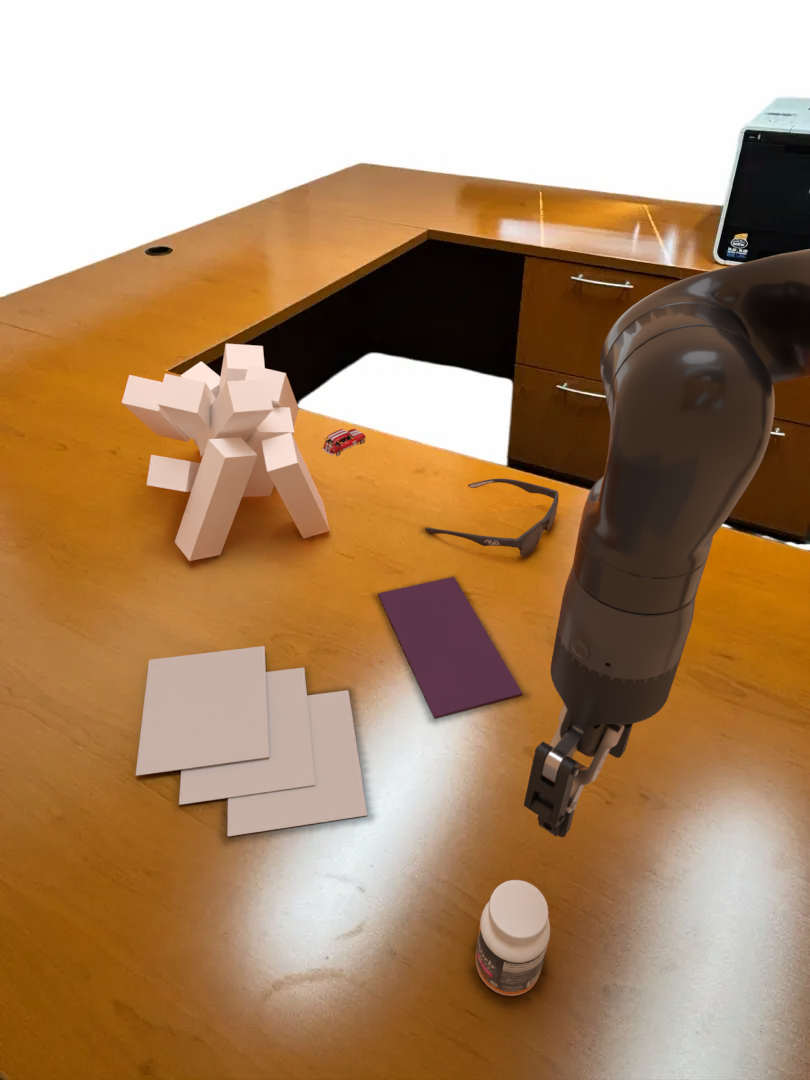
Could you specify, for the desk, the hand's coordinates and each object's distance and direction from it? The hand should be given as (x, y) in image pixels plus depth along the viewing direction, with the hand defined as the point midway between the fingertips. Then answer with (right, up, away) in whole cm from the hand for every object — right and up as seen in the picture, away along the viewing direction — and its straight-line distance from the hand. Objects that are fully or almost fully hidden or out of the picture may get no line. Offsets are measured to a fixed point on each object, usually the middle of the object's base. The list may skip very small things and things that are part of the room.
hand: (582, 786), depth 57 cm
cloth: (-8, +5, +40) cm, 42 cm away
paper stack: (-31, -3, +29) cm, 43 cm away
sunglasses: (+1, +20, +60) cm, 63 cm away
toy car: (-24, +34, +78) cm, 88 cm away
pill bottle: (-4, -19, +10) cm, 22 cm away
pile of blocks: (-39, +23, +63) cm, 78 cm away
